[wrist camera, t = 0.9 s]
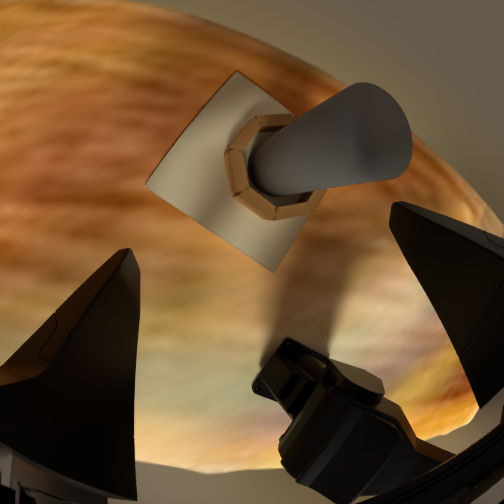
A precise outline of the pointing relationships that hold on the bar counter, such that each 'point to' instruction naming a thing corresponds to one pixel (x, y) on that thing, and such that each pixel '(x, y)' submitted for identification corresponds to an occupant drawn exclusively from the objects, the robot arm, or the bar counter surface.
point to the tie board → (208, 176)
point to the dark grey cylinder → (335, 145)
